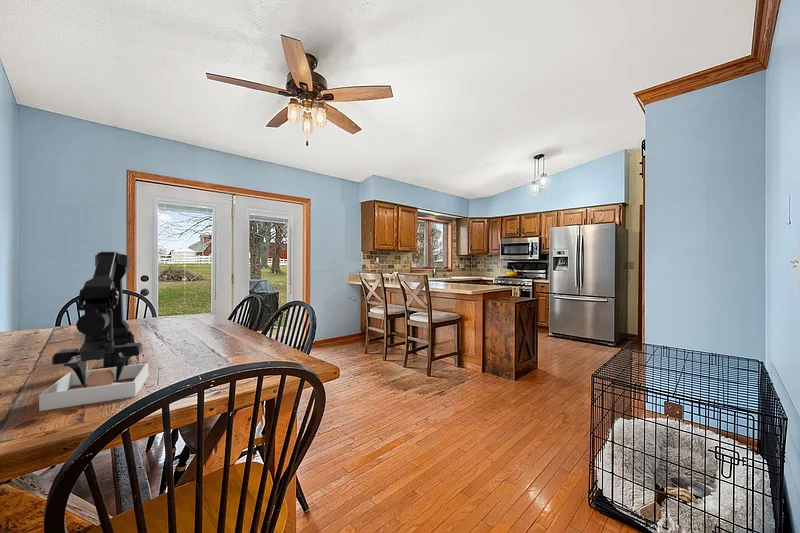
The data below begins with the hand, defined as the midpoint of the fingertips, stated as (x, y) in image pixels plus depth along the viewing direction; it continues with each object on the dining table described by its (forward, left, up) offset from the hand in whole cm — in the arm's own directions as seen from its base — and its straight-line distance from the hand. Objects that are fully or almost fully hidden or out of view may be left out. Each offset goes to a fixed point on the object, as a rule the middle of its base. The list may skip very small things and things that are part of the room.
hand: (100, 382), depth 98 cm
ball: (0, 0, -2) cm, 2 cm away
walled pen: (0, 0, -2) cm, 2 cm away
